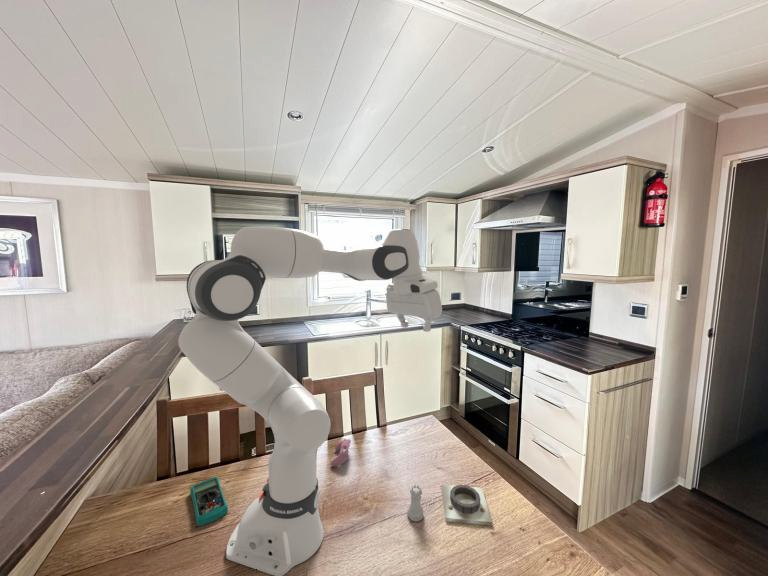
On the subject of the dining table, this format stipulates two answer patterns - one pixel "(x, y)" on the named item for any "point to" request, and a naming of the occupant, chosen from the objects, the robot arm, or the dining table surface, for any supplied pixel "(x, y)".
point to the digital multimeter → (208, 501)
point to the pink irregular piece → (341, 452)
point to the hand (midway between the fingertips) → (415, 328)
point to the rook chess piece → (415, 504)
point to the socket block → (465, 505)
